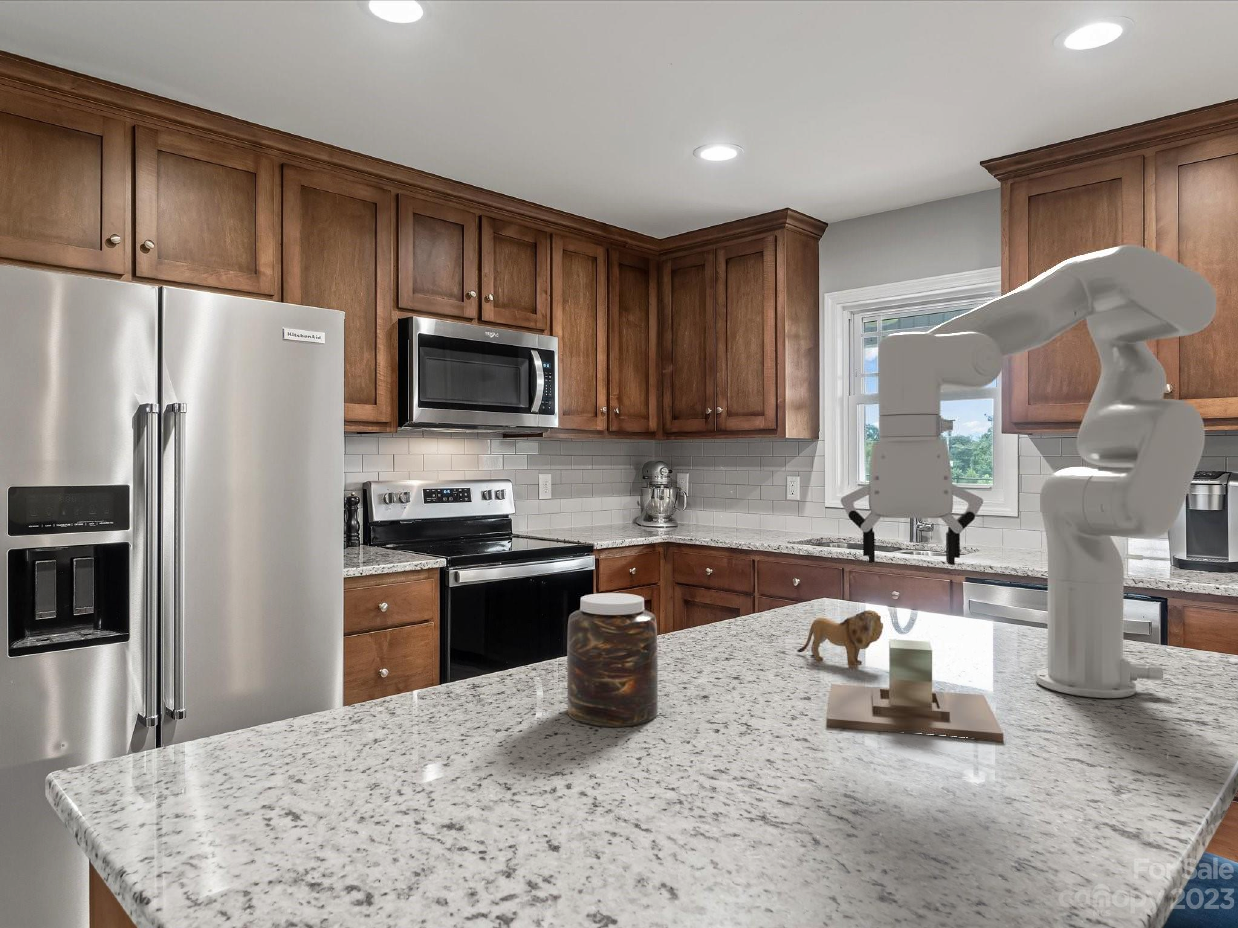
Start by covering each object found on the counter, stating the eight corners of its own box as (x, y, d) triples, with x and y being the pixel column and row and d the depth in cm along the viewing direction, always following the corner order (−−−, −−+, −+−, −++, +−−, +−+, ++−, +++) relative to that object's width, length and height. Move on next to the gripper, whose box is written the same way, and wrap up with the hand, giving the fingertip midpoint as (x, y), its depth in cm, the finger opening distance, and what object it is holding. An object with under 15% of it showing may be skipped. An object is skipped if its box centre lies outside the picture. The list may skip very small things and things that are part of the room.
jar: (659, 700, 113) (659, 591, 113) (655, 729, 101) (654, 607, 101) (574, 698, 114) (574, 590, 114) (560, 726, 102) (559, 605, 102)
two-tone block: (929, 702, 109) (929, 641, 108) (932, 713, 104) (932, 650, 104) (889, 699, 110) (889, 639, 110) (890, 710, 105) (890, 647, 105)
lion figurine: (888, 665, 131) (888, 609, 131) (874, 672, 127) (875, 614, 127) (804, 651, 141) (804, 599, 141) (789, 657, 137) (789, 603, 136)
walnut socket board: (983, 702, 112) (983, 687, 112) (1003, 741, 96) (1003, 724, 96) (831, 690, 117) (831, 676, 117) (826, 726, 102) (826, 710, 102)
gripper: (978, 429, 108) (978, 560, 108) (840, 431, 112) (841, 557, 113) (986, 428, 100) (987, 568, 101) (839, 430, 105) (840, 564, 106)
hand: (910, 562), depth 107 cm, fingers open, 9 cm apart
